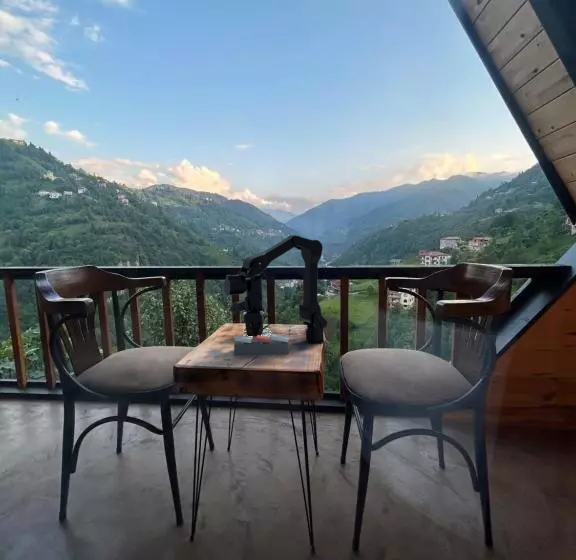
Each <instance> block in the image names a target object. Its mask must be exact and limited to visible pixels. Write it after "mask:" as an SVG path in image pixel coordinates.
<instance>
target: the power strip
mask: <svg viewBox="0 0 576 560" xmlns="http://www.w3.org/2000/svg"><path fill="white" fill-rule="evenodd" d="M269 337H270V343H268V342H262V341H257V340H253V338H252V341H251V343H247V342H241V341H235V340H234V341H235V342H234V344H233V346H234V347H233V353H234V357H235V356H236V357H237V356H272V355H273V356H274V355H276V356H277V355H278V356H279V355H289V341H288V342H284V341H278V340H272V339H271V336H269Z"/></svg>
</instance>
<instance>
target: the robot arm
mask: <svg viewBox="0 0 576 560" xmlns="http://www.w3.org/2000/svg"><path fill="white" fill-rule="evenodd" d="M294 248H295V249H296V250H299V251H300V253H301V257H302V260H303V262H304V301H303V302H302V304H301V303H300V304H299V306H298V309H299V312H298V315H299V318H300V319H301V320H302V321H303V324H304V325H306V328H305V341H306V342H307V343H308V344H324V343H325V340H324V337H325V336H324V328H326V327H327V325H328V320H326V319H325V318H324V317H323V316H322V315H323V314H322V308H321V306H320V303H319V301H318V280H319V279H318V278H319V277H318V275H319V273H318V271H319V270H318V269H319V268H318V265H319V262H320V259H321V258H322V255H323V243H322V242H321V240H318V239H308V238H305V237H303V236H300V235H297V234H291V235H288V236H287V237H286V238H284V239H282V240H281V241H279V242H277V243H276V244H274V245H272V246H271V247H269V248H268V249H266V250H264V251H262V252H259V253H255V254H252V255H248V256H247V257H246V258H244V260H243V261H242V262H243V263H242V266H241V267H240V270H239V271H238V272H237V274H233V275H230V274H226V275H225V279H224V283H223V290H224V293H225V295H226V296H234V295H236V296H237V295H243V294H246V295H245V297H244V299H241V300H240V301H235V302H232V303H231V304H230V306H229V307H230V312H231V313H232V314H233V315H237V314H238V313H241V312H243V311H244V312H246V313H245V315H244V314H243V322H244V323H245V322H250V323H251V326H252V330H253V334H254V336H257V335H258V332H259V329H260V327H261V324H262V321H263V318H264V316H265V314H264V315H263V313H262V312H261V311H263V312H264V313H265V311H266V309H265V308H266V307H265V306H266V305H264V301H263V300H264V299H263V298H264V294H263V293H264V292H263V280H268V279H269V278H268V276H267V275H266V274H265V273H264V271H265V270H266V269H267V268H268V267H269V266H270V264H271V263H272V262H273V261H274V260H276V259H277V258H279V257H282V255H284V254H285V253H288V252H289V251H291V250H292V249H294Z"/></svg>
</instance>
